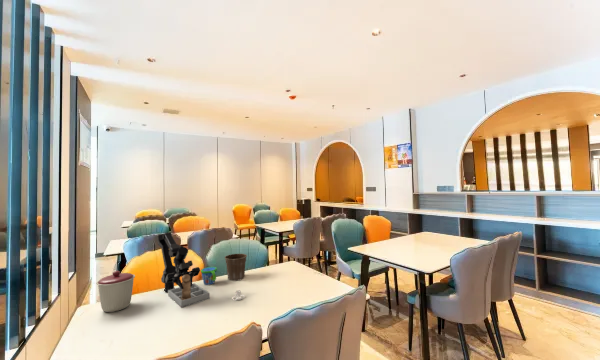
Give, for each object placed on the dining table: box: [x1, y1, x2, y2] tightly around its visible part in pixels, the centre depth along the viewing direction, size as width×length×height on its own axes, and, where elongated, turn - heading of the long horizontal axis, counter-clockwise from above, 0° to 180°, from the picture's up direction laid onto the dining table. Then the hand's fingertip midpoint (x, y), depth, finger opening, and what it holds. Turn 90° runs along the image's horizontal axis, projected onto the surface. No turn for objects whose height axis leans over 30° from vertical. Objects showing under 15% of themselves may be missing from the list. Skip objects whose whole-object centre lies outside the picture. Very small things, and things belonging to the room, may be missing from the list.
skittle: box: [181, 274, 191, 300], centre depth 153 cm, size 5×5×14 cm
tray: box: [167, 282, 211, 309], centre depth 161 cm, size 24×16×4 cm
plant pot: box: [224, 253, 248, 281], centre depth 194 cm, size 16×16×16 cm
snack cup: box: [200, 266, 218, 286], centre depth 184 cm, size 16×10×10 cm
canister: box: [96, 270, 136, 313], centre depth 149 cm, size 18×18×21 cm
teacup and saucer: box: [231, 290, 246, 301], centre depth 157 cm, size 9×8×4 cm
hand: (187, 287), depth 152 cm, fingers closed on skittle, 5 cm apart
